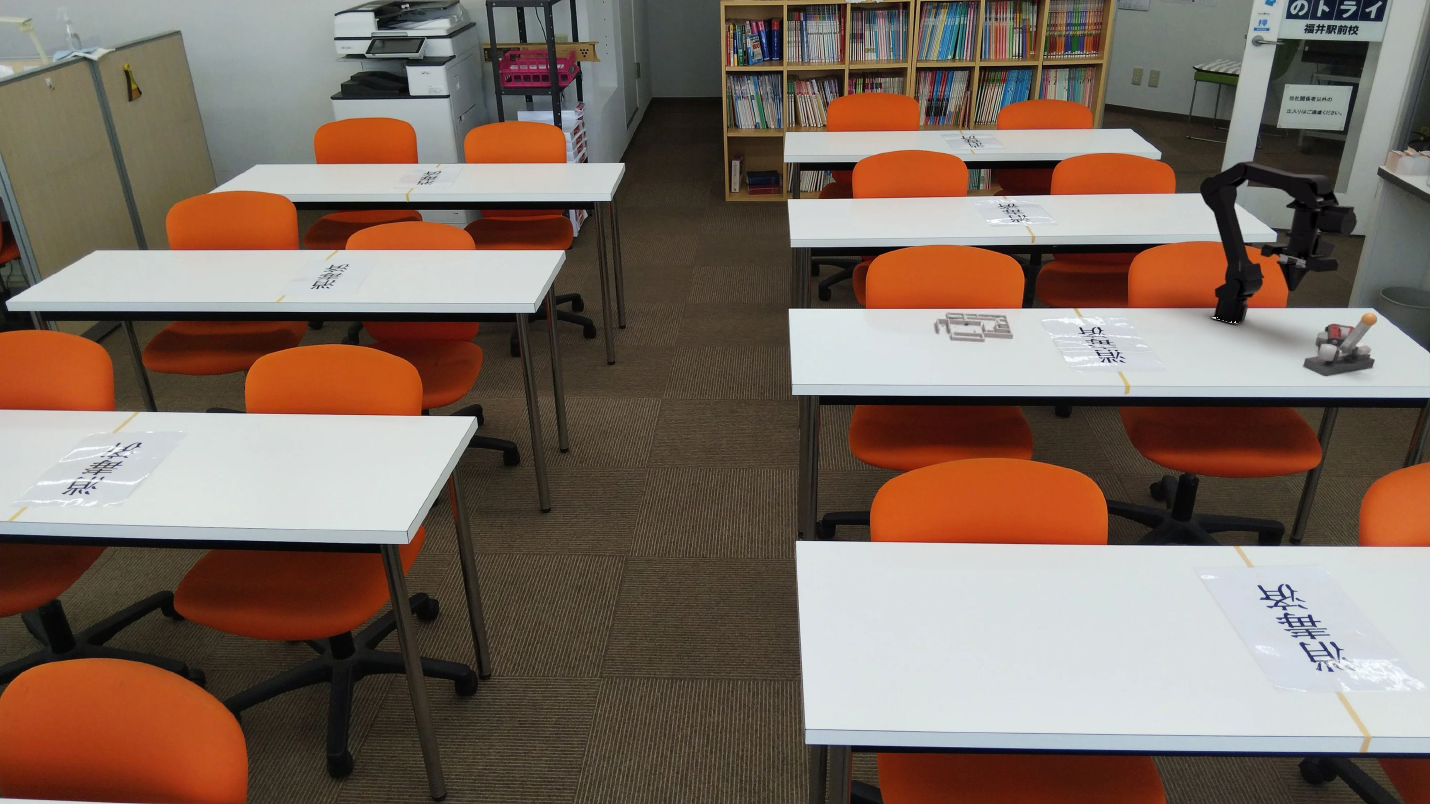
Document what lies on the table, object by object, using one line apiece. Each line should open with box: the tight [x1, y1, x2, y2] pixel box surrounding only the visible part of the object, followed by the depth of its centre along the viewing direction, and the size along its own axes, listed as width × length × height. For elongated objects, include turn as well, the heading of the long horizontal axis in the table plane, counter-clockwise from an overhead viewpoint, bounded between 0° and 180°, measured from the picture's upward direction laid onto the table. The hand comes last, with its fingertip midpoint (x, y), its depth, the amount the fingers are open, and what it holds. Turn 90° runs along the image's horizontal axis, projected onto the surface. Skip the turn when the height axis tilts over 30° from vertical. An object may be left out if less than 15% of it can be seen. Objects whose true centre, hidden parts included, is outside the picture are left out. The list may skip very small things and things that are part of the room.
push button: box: [1317, 344, 1337, 361], centre depth 222 cm, size 3×3×3 cm
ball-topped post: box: [1338, 312, 1378, 358], centre depth 220 cm, size 3×4×13 cm
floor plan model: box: [935, 312, 1014, 343], centre depth 244 cm, size 19×25×2 cm
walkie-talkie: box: [1315, 323, 1355, 352], centre depth 237 cm, size 9×4×20 cm
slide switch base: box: [1302, 346, 1376, 377], centre depth 225 cm, size 6×15×5 cm, turn 109°
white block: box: [1356, 340, 1372, 355], centre depth 225 cm, size 4×3×1 cm
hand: (1291, 291), depth 236 cm, fingers closed
